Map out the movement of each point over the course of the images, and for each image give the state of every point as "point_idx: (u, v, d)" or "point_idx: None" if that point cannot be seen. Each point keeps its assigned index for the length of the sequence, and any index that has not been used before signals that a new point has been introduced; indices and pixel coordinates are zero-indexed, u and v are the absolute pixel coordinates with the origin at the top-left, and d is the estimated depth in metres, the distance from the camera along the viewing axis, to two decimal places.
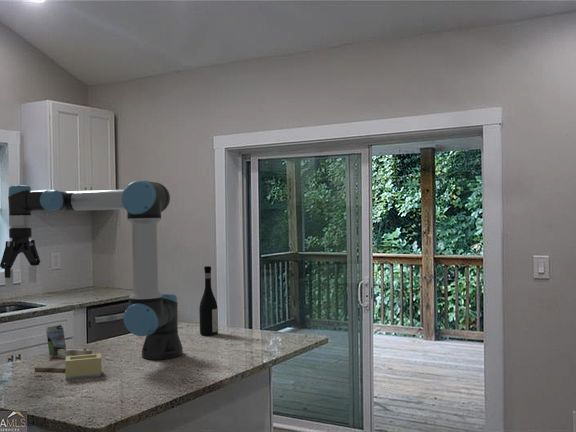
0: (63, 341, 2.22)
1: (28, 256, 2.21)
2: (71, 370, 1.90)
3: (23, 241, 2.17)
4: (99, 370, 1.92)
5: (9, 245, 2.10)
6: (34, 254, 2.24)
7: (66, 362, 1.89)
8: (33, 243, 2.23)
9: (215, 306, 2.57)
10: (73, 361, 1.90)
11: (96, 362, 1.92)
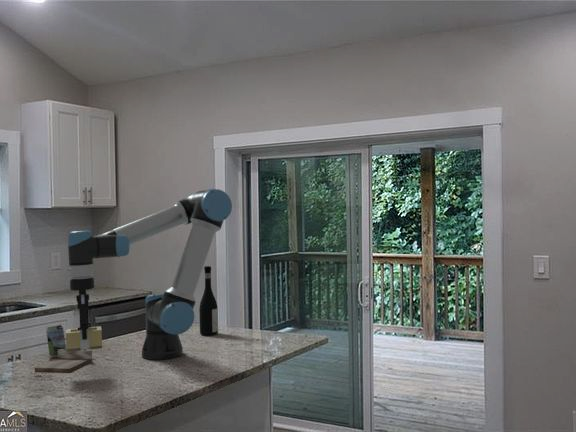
0: (63, 341, 2.22)
1: None
2: (72, 342, 1.90)
3: (86, 293, 1.95)
4: (100, 342, 1.93)
5: (84, 303, 1.88)
6: None
7: (66, 334, 1.89)
8: None
9: (215, 306, 2.57)
10: (73, 333, 1.90)
11: (96, 334, 1.92)
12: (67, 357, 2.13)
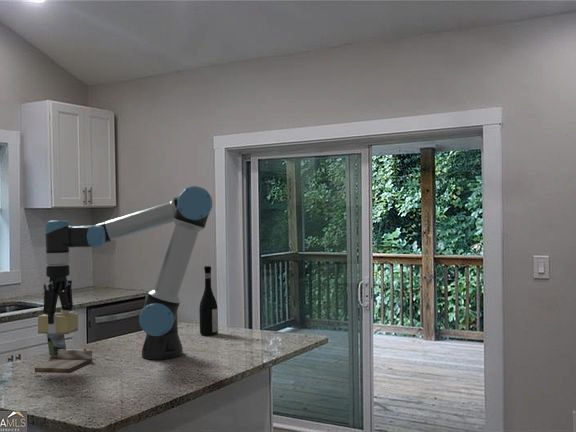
0: (63, 341, 2.22)
1: (63, 297, 2.06)
2: (42, 325, 2.01)
3: (61, 280, 2.04)
4: (65, 328, 1.99)
5: (48, 289, 1.97)
6: (68, 296, 2.09)
7: (38, 317, 2.01)
8: (70, 284, 2.09)
9: (215, 306, 2.57)
10: (44, 317, 2.01)
11: (63, 320, 2.00)
12: (67, 357, 2.13)
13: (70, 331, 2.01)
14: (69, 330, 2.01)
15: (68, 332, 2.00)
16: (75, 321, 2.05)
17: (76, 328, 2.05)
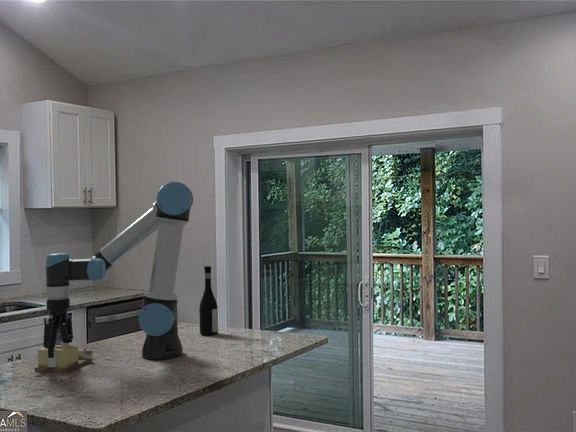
0: None
1: (63, 330, 2.06)
2: (42, 358, 2.01)
3: (61, 313, 2.04)
4: (65, 362, 2.00)
5: (48, 323, 1.98)
6: (68, 328, 2.09)
7: (38, 350, 2.01)
8: (70, 316, 2.09)
9: (215, 306, 2.57)
10: (44, 350, 2.01)
11: (62, 354, 2.00)
12: None
13: (70, 364, 2.01)
14: (69, 363, 2.01)
15: (68, 365, 2.00)
16: (75, 354, 2.05)
17: (76, 361, 2.05)
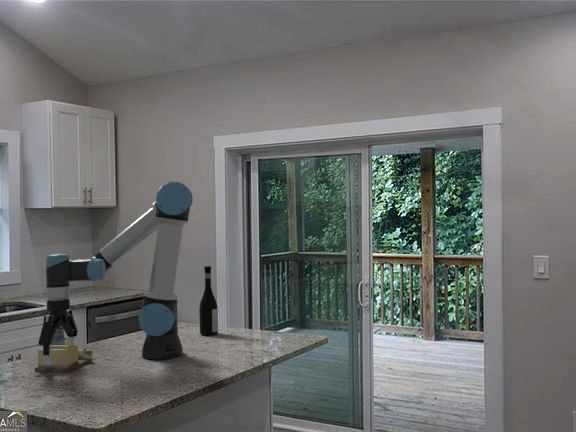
0: (63, 341, 2.22)
1: (66, 327, 2.08)
2: (42, 358, 2.01)
3: (61, 313, 2.04)
4: (65, 362, 2.00)
5: (48, 320, 1.97)
6: (72, 325, 2.11)
7: (38, 350, 2.01)
8: (71, 313, 2.10)
9: (215, 306, 2.57)
10: None
11: (62, 354, 2.00)
12: None
13: (70, 364, 2.01)
14: (69, 363, 2.01)
15: (68, 365, 2.00)
16: (75, 354, 2.05)
17: (76, 361, 2.05)
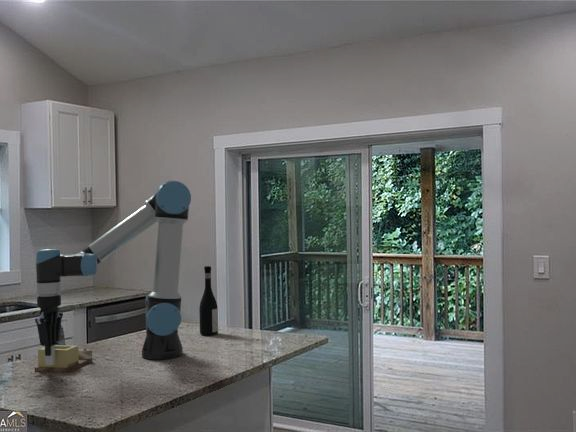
0: (63, 341, 2.22)
1: (51, 329, 1.99)
2: (42, 358, 2.01)
3: (52, 310, 1.98)
4: (65, 362, 2.00)
5: (40, 323, 1.93)
6: (56, 329, 2.02)
7: (38, 350, 2.02)
8: (60, 316, 2.03)
9: (215, 306, 2.57)
10: (44, 350, 2.01)
11: (63, 354, 2.00)
12: None
13: (70, 364, 2.02)
14: (69, 363, 2.01)
15: (68, 365, 2.00)
16: (75, 353, 2.05)
17: (76, 361, 2.05)
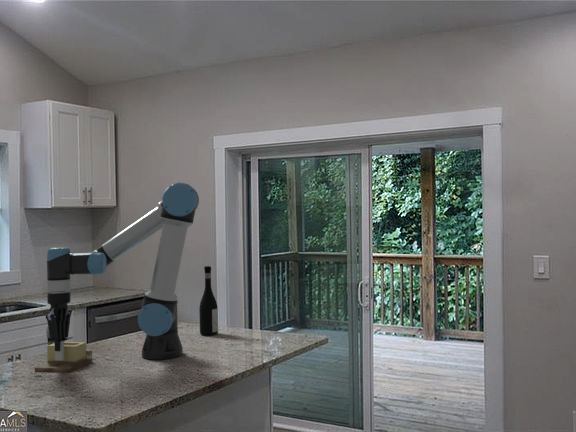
0: None
1: (60, 325, 2.05)
2: (52, 354, 2.07)
3: (62, 307, 2.04)
4: (74, 358, 2.05)
5: (51, 319, 1.99)
6: (66, 325, 2.07)
7: (48, 347, 2.07)
8: (70, 313, 2.09)
9: (215, 306, 2.57)
10: (53, 346, 2.07)
11: (71, 350, 2.05)
12: None
13: (78, 360, 2.07)
14: (77, 359, 2.06)
15: (76, 361, 2.06)
16: (84, 350, 2.11)
17: (84, 357, 2.11)
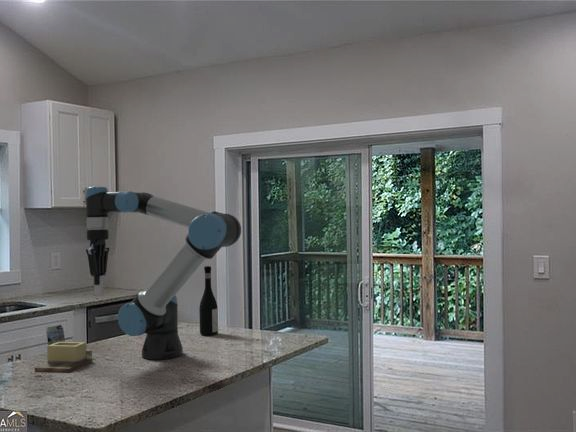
0: (63, 341, 2.22)
1: (99, 261, 2.15)
2: (52, 355, 2.07)
3: (100, 243, 2.15)
4: (74, 358, 2.05)
5: (91, 253, 2.09)
6: (104, 261, 2.18)
7: (48, 347, 2.07)
8: (107, 250, 2.19)
9: (215, 306, 2.57)
10: (53, 347, 2.07)
11: (71, 350, 2.05)
12: None
13: (79, 360, 2.07)
14: (78, 359, 2.06)
15: (77, 361, 2.06)
16: (84, 350, 2.11)
17: (84, 357, 2.11)
